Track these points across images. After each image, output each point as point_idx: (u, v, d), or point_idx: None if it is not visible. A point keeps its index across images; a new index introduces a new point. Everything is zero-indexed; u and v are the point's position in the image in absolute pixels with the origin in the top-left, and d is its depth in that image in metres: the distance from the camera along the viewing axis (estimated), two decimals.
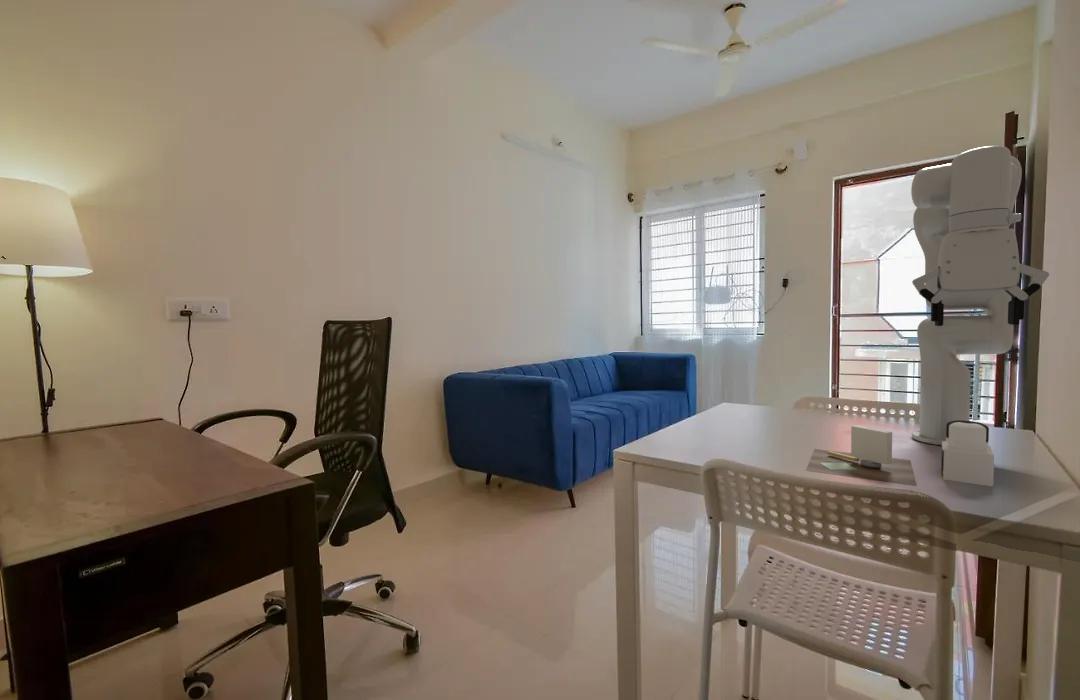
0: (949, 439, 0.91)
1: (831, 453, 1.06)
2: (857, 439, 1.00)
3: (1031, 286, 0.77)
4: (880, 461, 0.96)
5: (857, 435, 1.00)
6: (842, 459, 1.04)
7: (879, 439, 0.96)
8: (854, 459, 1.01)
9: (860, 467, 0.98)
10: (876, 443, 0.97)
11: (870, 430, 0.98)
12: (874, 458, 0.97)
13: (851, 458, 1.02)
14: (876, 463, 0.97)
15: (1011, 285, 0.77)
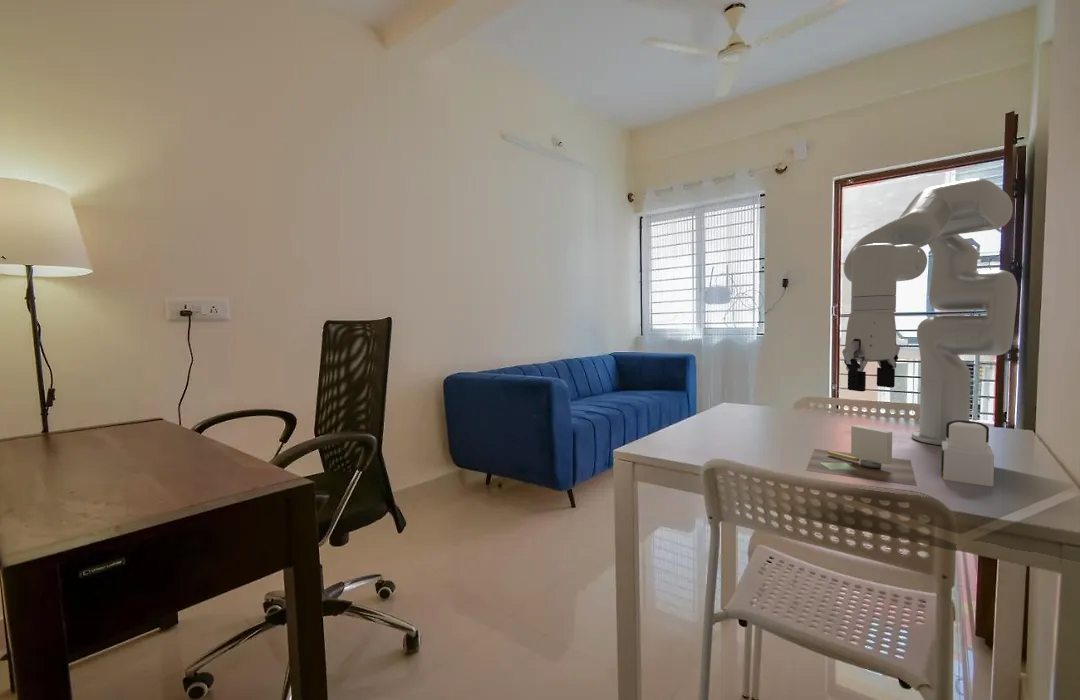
0: (949, 439, 0.91)
1: (831, 453, 1.06)
2: (857, 439, 1.00)
3: (895, 357, 0.99)
4: (880, 461, 0.96)
5: (857, 435, 1.00)
6: (842, 459, 1.04)
7: (879, 439, 0.96)
8: (854, 459, 1.01)
9: (860, 467, 0.98)
10: (876, 443, 0.97)
11: (870, 430, 0.98)
12: (874, 458, 0.97)
13: (851, 458, 1.02)
14: (876, 463, 0.97)
15: (893, 357, 0.97)
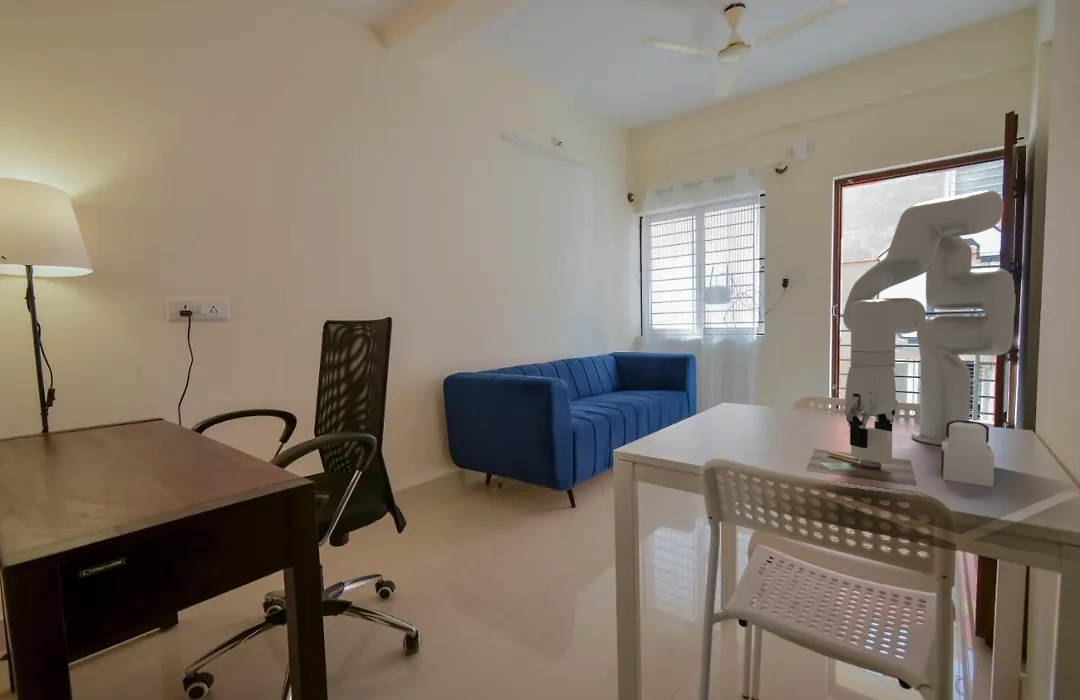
0: (949, 439, 0.91)
1: (831, 453, 1.06)
2: None
3: (892, 411, 1.00)
4: (880, 461, 0.96)
5: None
6: (842, 459, 1.04)
7: (879, 439, 0.96)
8: (854, 459, 1.01)
9: (860, 467, 0.98)
10: (876, 443, 0.97)
11: (870, 430, 0.98)
12: (874, 458, 0.97)
13: (851, 458, 1.02)
14: (876, 463, 0.97)
15: (893, 410, 0.98)
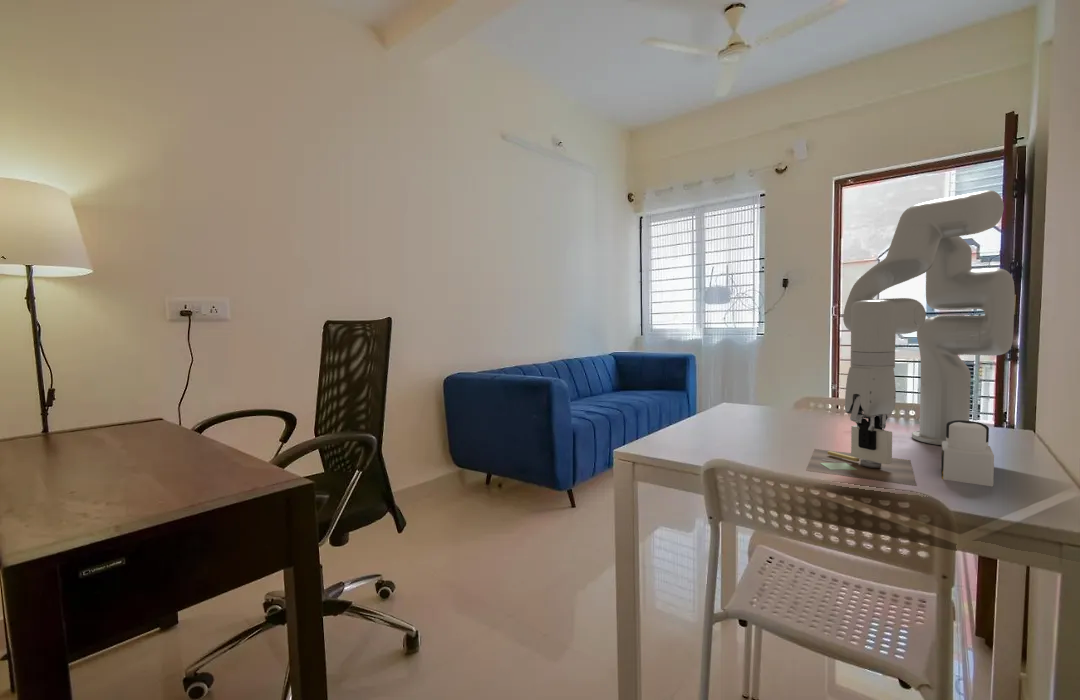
0: (949, 439, 0.91)
1: (831, 453, 1.06)
2: (857, 439, 1.00)
3: None
4: (880, 461, 0.96)
5: (857, 435, 1.00)
6: (842, 459, 1.04)
7: (879, 439, 0.96)
8: (854, 459, 1.01)
9: (860, 467, 0.98)
10: (876, 443, 0.97)
11: None
12: (874, 458, 0.97)
13: (851, 458, 1.02)
14: (876, 463, 0.97)
15: None
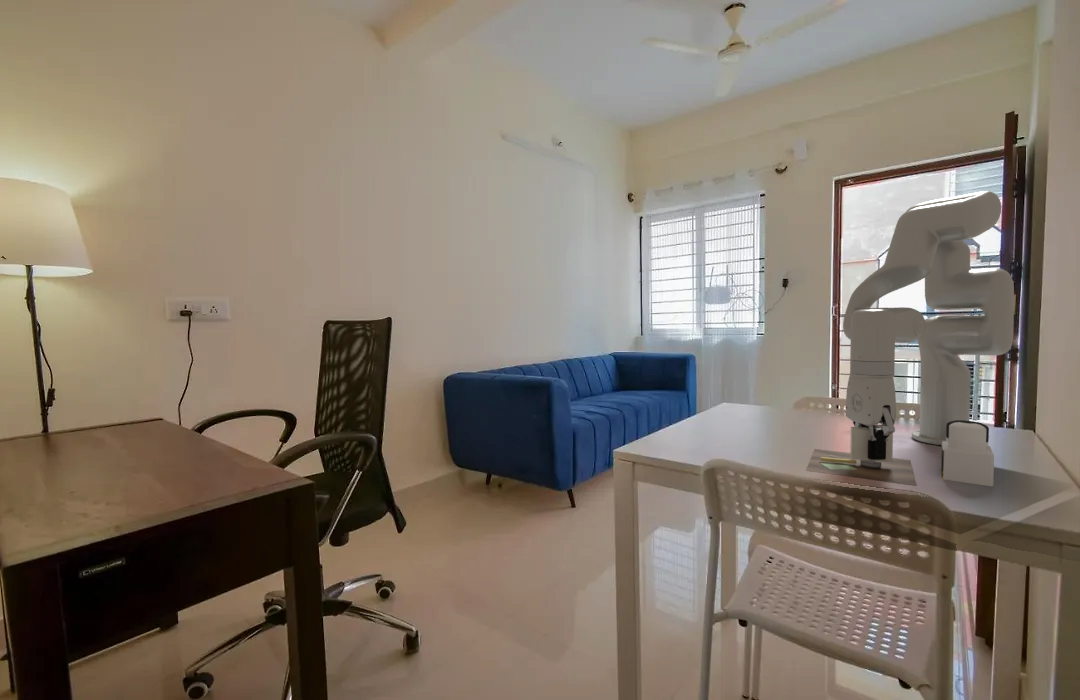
0: (949, 439, 0.91)
1: (825, 459, 1.02)
2: (859, 441, 0.99)
3: None
4: (885, 460, 0.97)
5: (859, 437, 0.98)
6: None
7: None
8: (853, 462, 1.00)
9: (860, 467, 0.98)
10: None
11: None
12: None
13: (850, 461, 1.00)
14: (878, 462, 0.98)
15: None
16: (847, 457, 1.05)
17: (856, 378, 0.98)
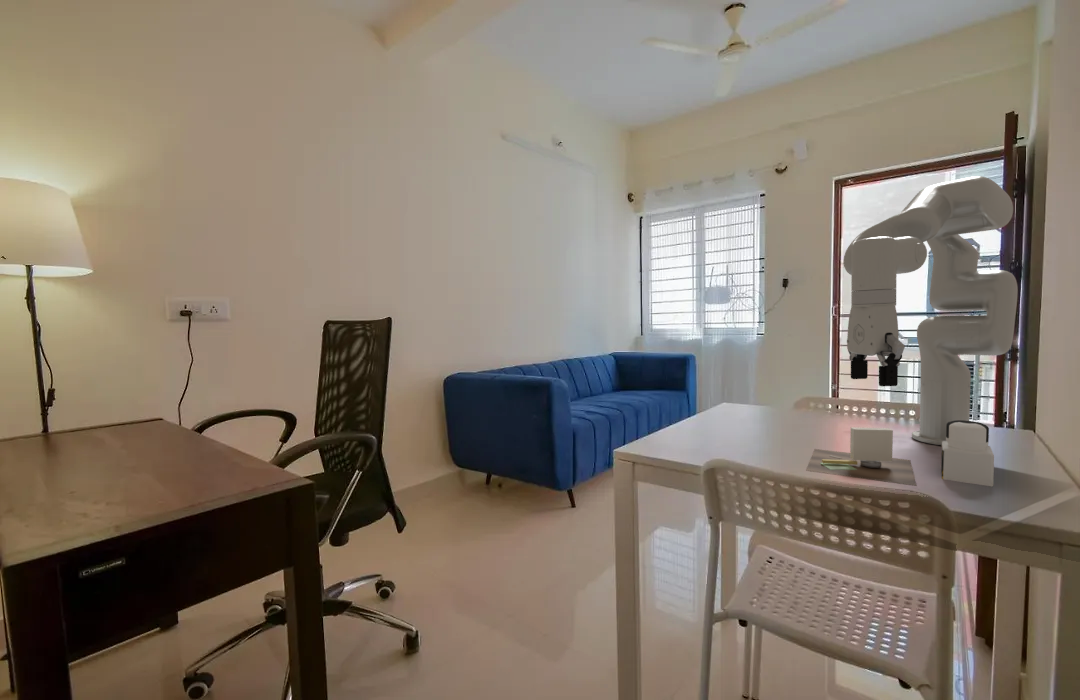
0: (949, 439, 0.91)
1: (827, 461, 1.00)
2: (860, 441, 0.98)
3: None
4: (885, 459, 0.97)
5: (860, 438, 0.98)
6: (842, 459, 1.04)
7: (884, 437, 0.97)
8: (855, 462, 0.99)
9: (860, 467, 0.98)
10: (881, 442, 0.97)
11: (874, 430, 0.97)
12: (879, 457, 0.97)
13: (851, 462, 0.99)
14: (877, 462, 0.98)
15: None
16: (847, 457, 1.05)
17: (857, 309, 0.97)
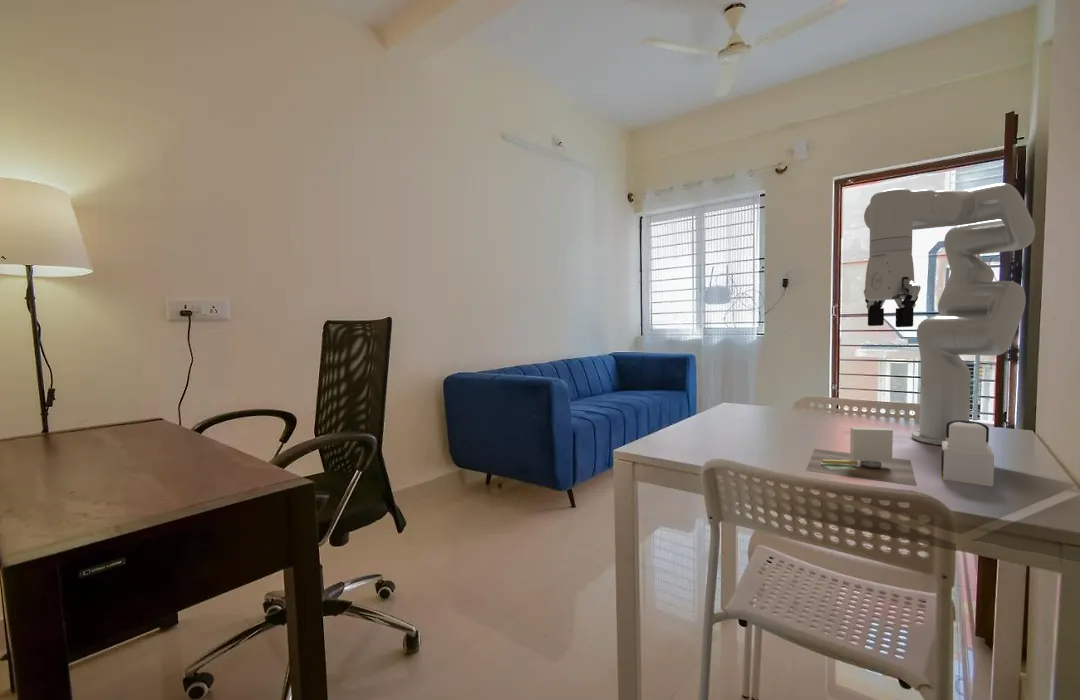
0: (949, 439, 0.91)
1: (828, 461, 1.00)
2: (860, 442, 0.98)
3: None
4: (885, 459, 0.97)
5: (860, 438, 0.98)
6: (842, 459, 1.04)
7: (884, 437, 0.97)
8: (855, 462, 0.99)
9: (860, 467, 0.98)
10: (881, 442, 0.97)
11: (874, 430, 0.97)
12: (879, 457, 0.97)
13: (851, 462, 0.99)
14: (877, 462, 0.98)
15: None
16: (847, 457, 1.05)
17: (875, 258, 1.04)
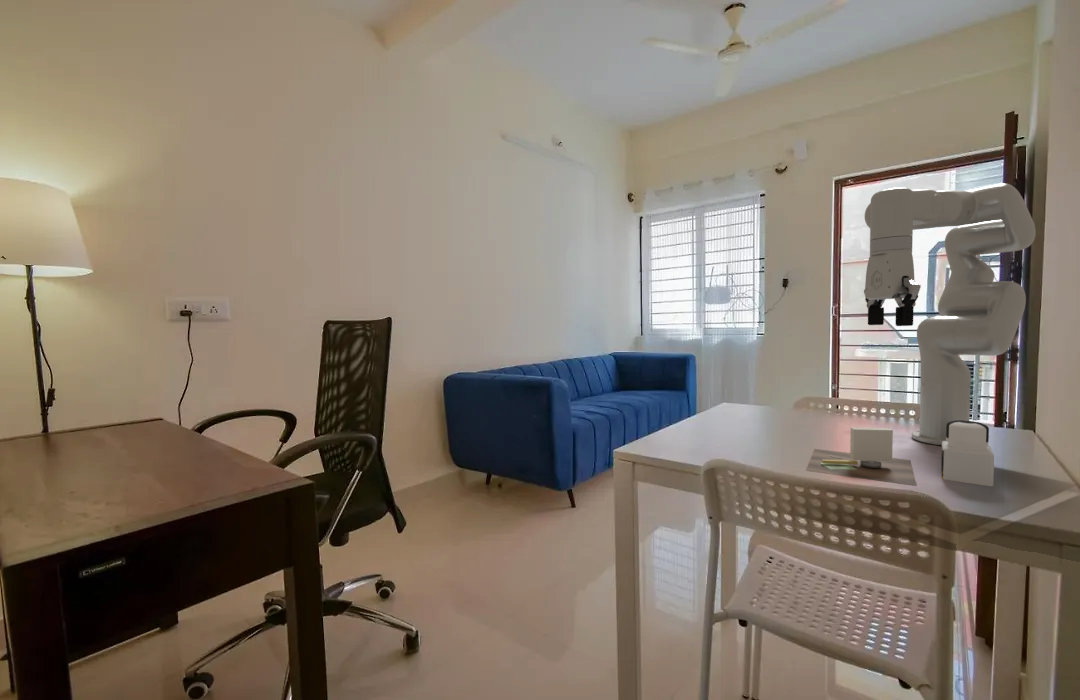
0: (949, 439, 0.91)
1: (828, 461, 1.00)
2: (860, 442, 0.98)
3: None
4: (885, 459, 0.97)
5: (860, 438, 0.98)
6: (842, 459, 1.04)
7: (884, 437, 0.97)
8: (855, 462, 0.99)
9: (860, 467, 0.98)
10: (881, 442, 0.97)
11: (874, 430, 0.97)
12: (879, 457, 0.97)
13: (851, 462, 0.99)
14: (877, 462, 0.98)
15: None
16: (847, 457, 1.05)
17: (876, 257, 1.04)
